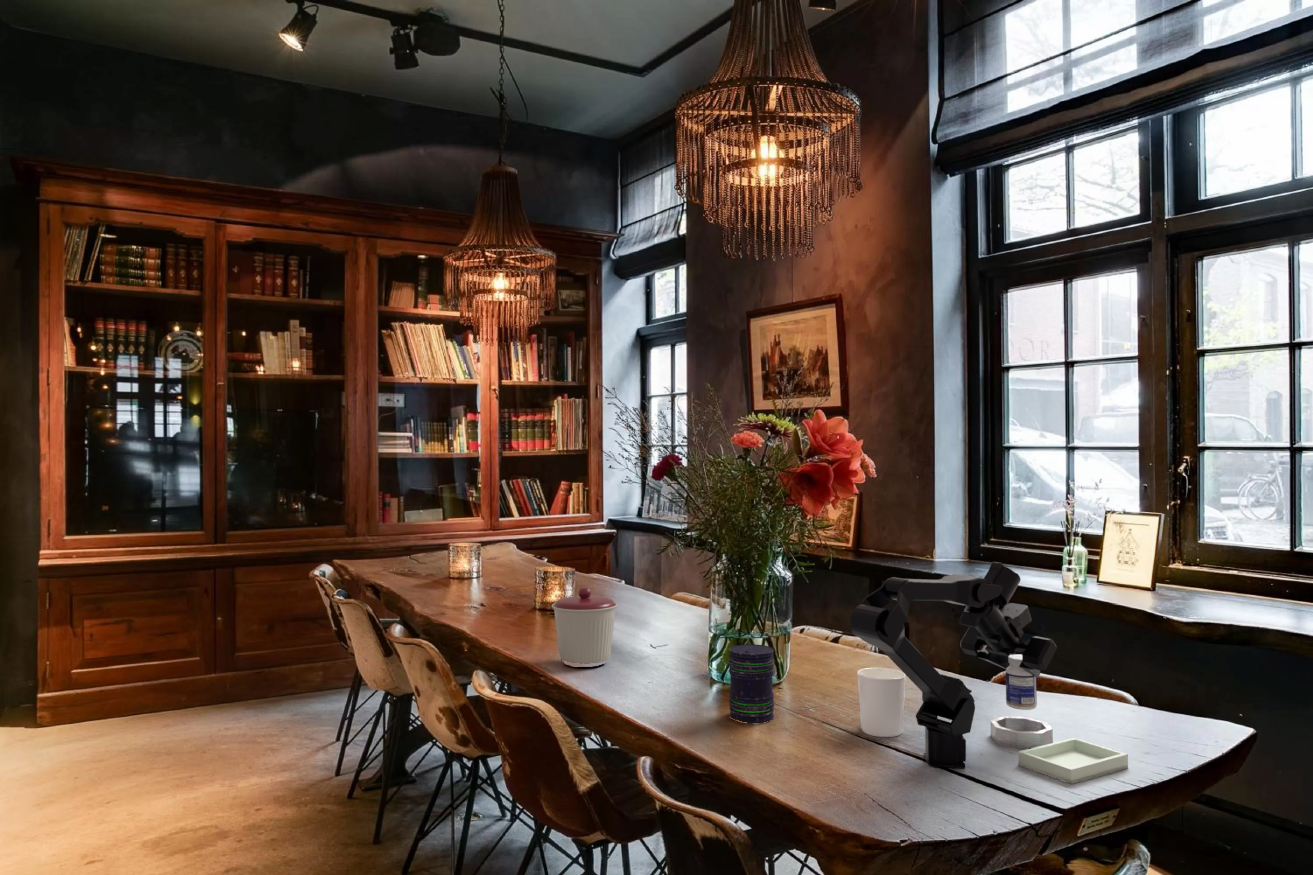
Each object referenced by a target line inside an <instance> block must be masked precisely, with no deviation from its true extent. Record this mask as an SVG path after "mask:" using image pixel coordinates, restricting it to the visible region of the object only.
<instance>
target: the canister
mask: <svg viewBox="0 0 1313 875" xmlns="http://www.w3.org/2000/svg"><path fill="white" fill-rule="evenodd" d="M577 594H578V595H576V596H575V595H574V596H568V597H563V598H561V599H560V598H559V599H558V600H556V601H555V602H554V603H552V604H551V608H552V609H553V610H554V621H555V629H556V637H557V638H556V639H557V646H558V653H559V658H560V660H561V659H562V660H563V661H567V662H571V663H580V664H583V663H584V664H590V663H599V662H603V661H607V660H608V659H609V660H610V656H611V652H612V651H611V650H612V643H613V637H614V636H613V635H614V625H615V616H616V608H617V607H618V606H619V604H618V603H617V602H616V601H614V600H613V599H611V598H609V597H606V596H599V595H592V591H591V588H589V587H586V586H585V587H580V588H579V589H578V593H577ZM609 660H608V661H609ZM608 661H607V662H608Z"/></svg>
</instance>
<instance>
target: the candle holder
mask: <svg viewBox="0 0 1313 875" xmlns="http://www.w3.org/2000/svg"><path fill="white" fill-rule="evenodd" d="M856 674H857V684H858V687H857V688H858V700H859V714H860V727H861V731H862V732H863V733H864V734H866V735H869V736H874V737H880V738H893V737H898V736H900V735H902V734H903V732H904V714H905V712H904V711H905V694H906V677H907V676H906V675H905V674H904V672H903V671H902V670H899V669H895V668H890V667H889V668H888V667H866V668H861V669H859V670H857V672H856Z"/></svg>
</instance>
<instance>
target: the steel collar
mask: <svg viewBox="0 0 1313 875" xmlns="http://www.w3.org/2000/svg"><path fill="white" fill-rule="evenodd" d="M989 721H990V722H989V723H990V736H991V737H992V739H993V740H994V742H995V743H998V744H1001V745H1005V746H1008V745H1009V746H1008V747H1011V746H1012V747H1011V748H1015V749H1029V748H1035V747H1039V746H1043V745H1047V744H1051V743H1054V740H1053V739H1054V737H1053V735H1054V734H1053V728H1052V727H1051V725H1049V723H1047V722H1046V721H1042V720H1039V719H1034V718H1029V717H1027V716H999V717H997V718H994V719H991V720H989Z"/></svg>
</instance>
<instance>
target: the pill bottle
mask: <svg viewBox="0 0 1313 875" xmlns="http://www.w3.org/2000/svg"><path fill="white" fill-rule="evenodd" d="M1008 662H1009V663H1010V666H1008V667H1007V668H1006V669H1005V703H1006V704H1005V705H1007V707H1010V708H1012V709H1016V710H1020V711H1021V710H1022V711H1028V710H1029V711H1030V710H1035V709H1036V708H1037V705H1038V704H1037V699H1038V698H1037V696H1038V695H1037V677H1035V676H1033V675H1031V674H1030V673H1028V672H1027V671H1025V670H1023V669H1022V668H1020V667H1019V665H1020V664H1021V662H1022V655H1021V654H1016V653H1015V655H1010V654H1009V656H1008Z"/></svg>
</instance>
